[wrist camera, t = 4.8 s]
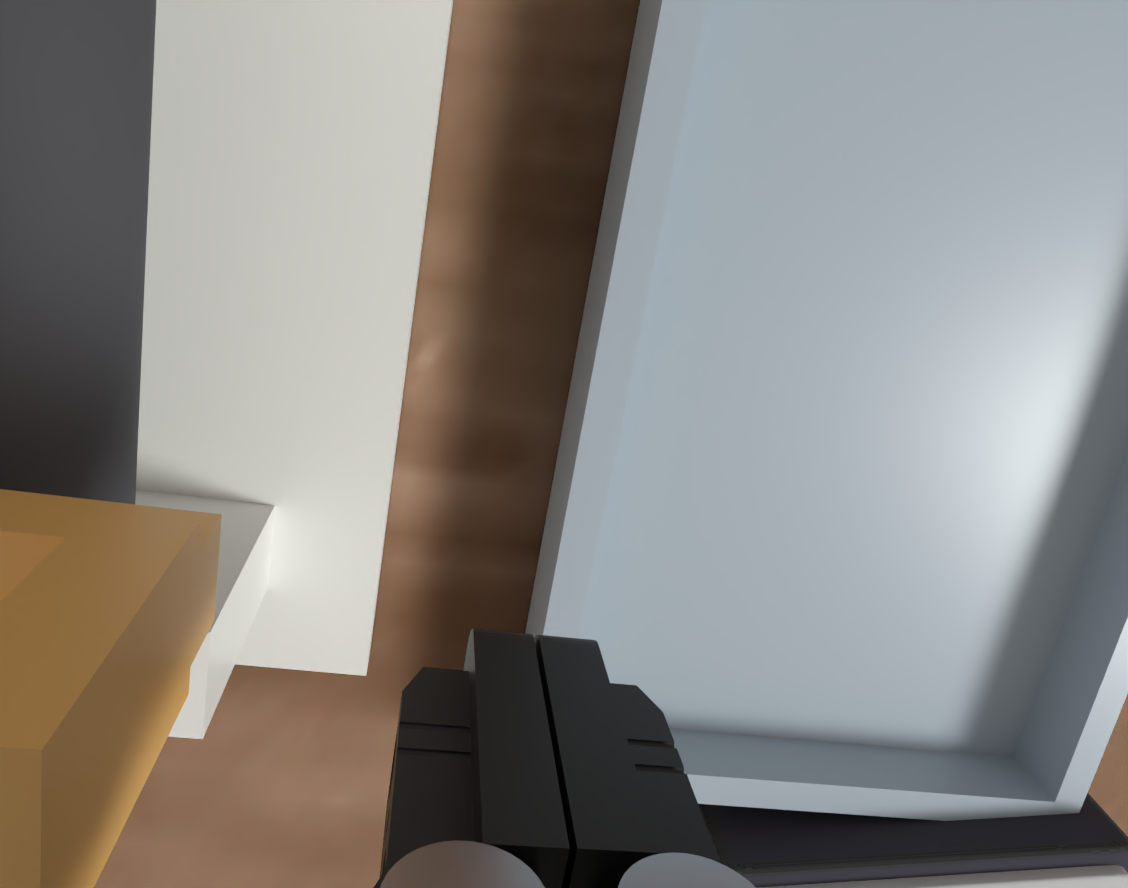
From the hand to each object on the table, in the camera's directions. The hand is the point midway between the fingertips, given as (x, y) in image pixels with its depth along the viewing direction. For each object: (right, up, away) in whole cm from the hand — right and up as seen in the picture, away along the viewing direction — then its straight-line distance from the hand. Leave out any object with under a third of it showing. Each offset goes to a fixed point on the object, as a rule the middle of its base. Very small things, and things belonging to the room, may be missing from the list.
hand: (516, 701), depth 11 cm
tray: (+8, +5, +10) cm, 14 cm away
